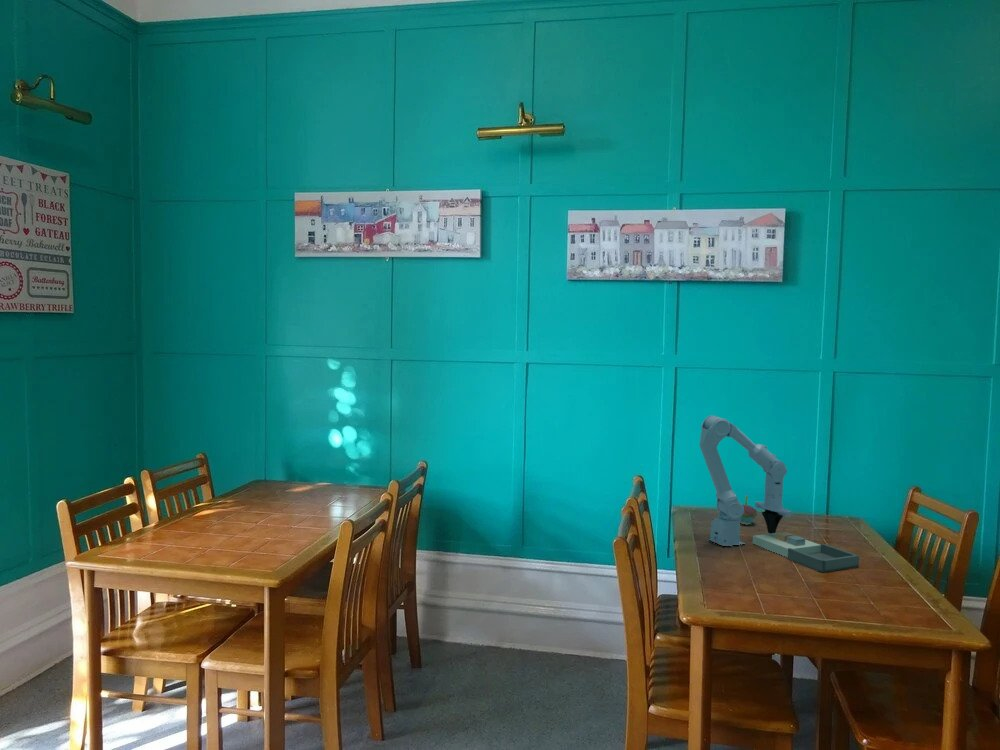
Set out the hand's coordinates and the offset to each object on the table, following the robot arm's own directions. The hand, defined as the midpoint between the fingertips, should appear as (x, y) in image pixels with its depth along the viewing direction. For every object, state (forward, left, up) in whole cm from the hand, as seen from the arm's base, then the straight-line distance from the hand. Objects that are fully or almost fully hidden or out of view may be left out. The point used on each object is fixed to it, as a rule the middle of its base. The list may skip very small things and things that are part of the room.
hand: (771, 532), depth 244 cm
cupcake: (+10, +23, -4) cm, 26 cm away
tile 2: (0, -11, -1) cm, 11 cm away
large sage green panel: (0, -7, -4) cm, 8 cm away
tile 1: (0, -6, -1) cm, 6 cm away
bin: (0, -22, -4) cm, 22 cm away
